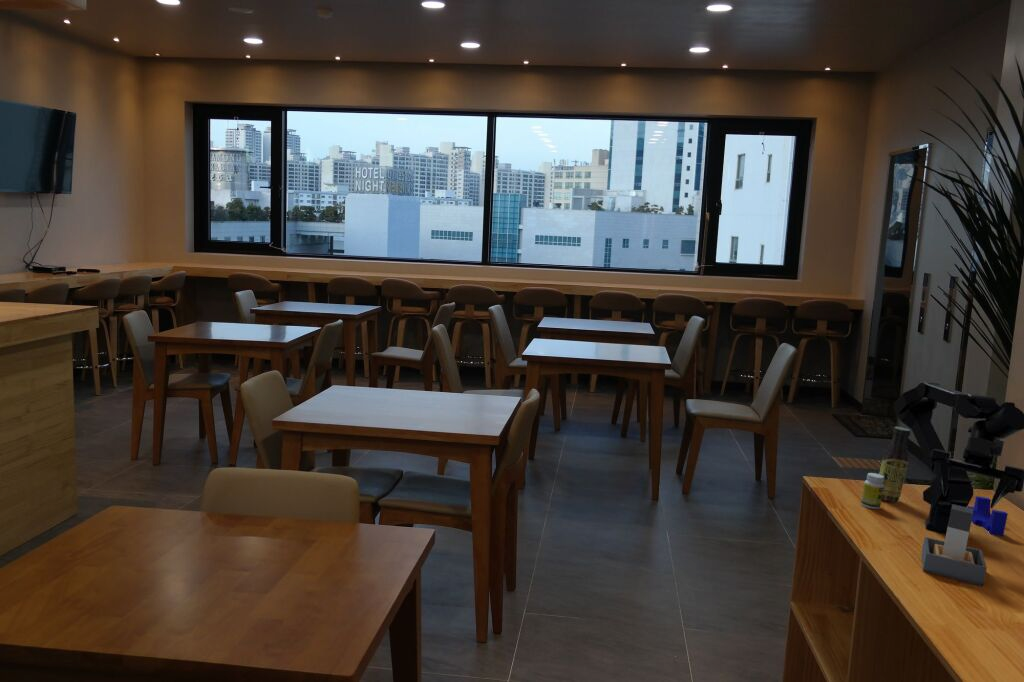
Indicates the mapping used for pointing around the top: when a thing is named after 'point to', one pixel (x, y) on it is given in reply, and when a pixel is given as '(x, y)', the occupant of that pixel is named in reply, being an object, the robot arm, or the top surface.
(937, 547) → the walled box
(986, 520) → the cable clip
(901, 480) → the sauce bottle
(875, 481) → the supplement bottle
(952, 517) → the plug
